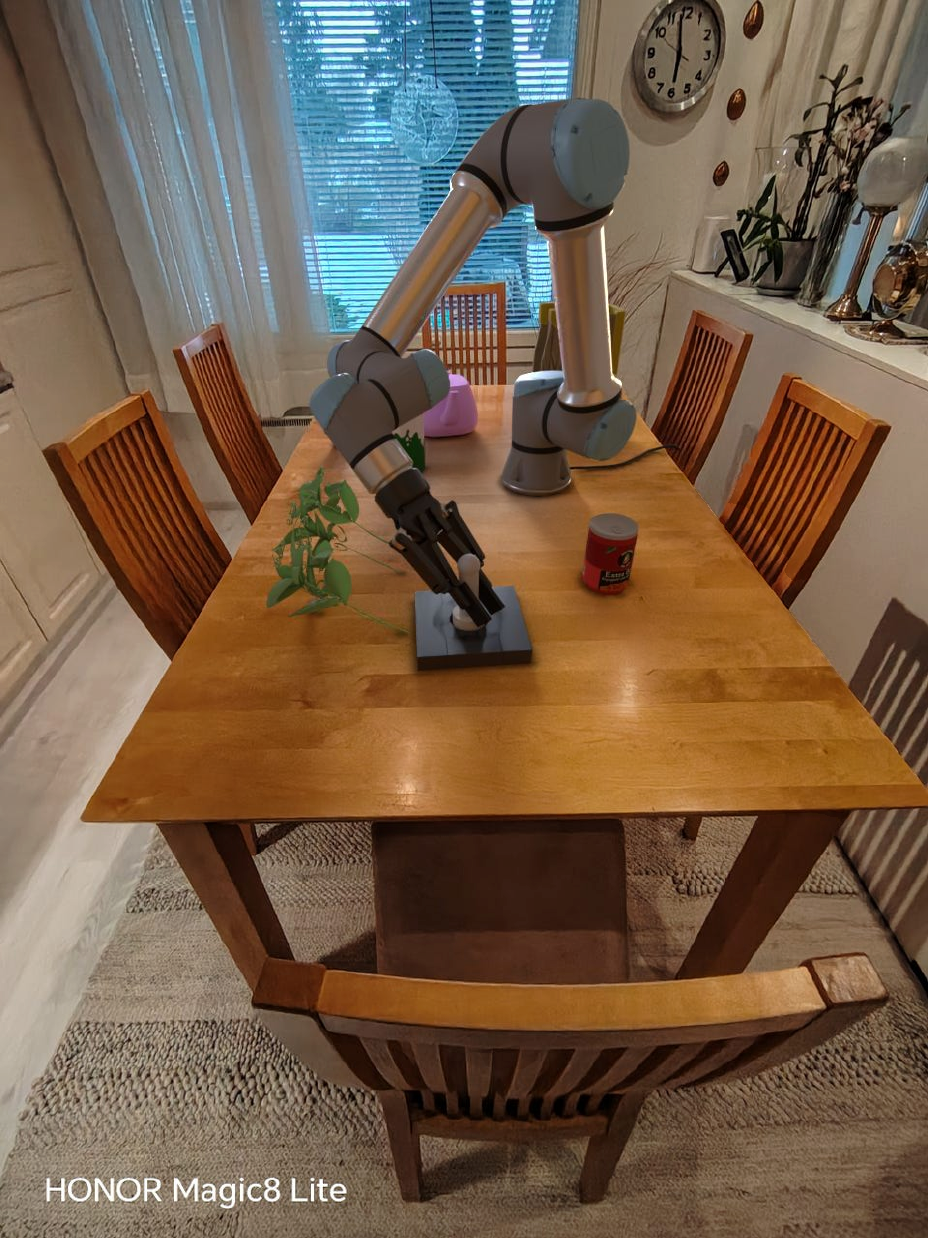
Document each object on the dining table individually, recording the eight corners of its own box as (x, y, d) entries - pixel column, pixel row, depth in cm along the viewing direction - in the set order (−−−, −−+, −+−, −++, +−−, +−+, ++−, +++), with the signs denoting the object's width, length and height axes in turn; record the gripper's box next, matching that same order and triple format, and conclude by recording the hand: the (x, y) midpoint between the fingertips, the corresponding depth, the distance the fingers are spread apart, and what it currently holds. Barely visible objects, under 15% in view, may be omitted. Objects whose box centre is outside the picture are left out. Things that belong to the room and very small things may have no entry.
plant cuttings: (376, 579, 113) (267, 521, 103) (427, 512, 105) (314, 443, 96) (371, 712, 85) (221, 649, 76) (439, 633, 78) (282, 553, 68)
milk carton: (430, 466, 139) (426, 378, 127) (413, 481, 132) (408, 389, 120) (397, 461, 141) (390, 374, 129) (379, 476, 135) (370, 385, 123)
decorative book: (598, 420, 163) (613, 298, 145) (611, 434, 155) (630, 306, 136) (527, 424, 161) (534, 301, 143) (537, 439, 152) (545, 310, 134)
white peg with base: (482, 617, 90) (484, 545, 83) (486, 636, 87) (488, 563, 79) (451, 619, 90) (450, 547, 83) (454, 638, 86) (452, 565, 79)
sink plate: (513, 598, 96) (514, 585, 94) (531, 663, 83) (532, 649, 81) (415, 603, 95) (414, 591, 93) (418, 670, 82) (417, 657, 80)
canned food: (601, 600, 95) (611, 540, 88) (572, 576, 101) (579, 518, 94) (638, 588, 98) (650, 529, 91) (607, 565, 103) (617, 508, 97)
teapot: (394, 423, 163) (389, 366, 154) (468, 417, 166) (468, 360, 157) (407, 454, 145) (402, 391, 136) (489, 446, 149) (490, 384, 140)
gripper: (415, 475, 90) (504, 599, 92) (342, 515, 80) (444, 654, 82) (442, 449, 84) (536, 582, 87) (367, 488, 74) (476, 638, 76)
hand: (491, 616), depth 84 cm, fingers closed on white peg with base, 3 cm apart
